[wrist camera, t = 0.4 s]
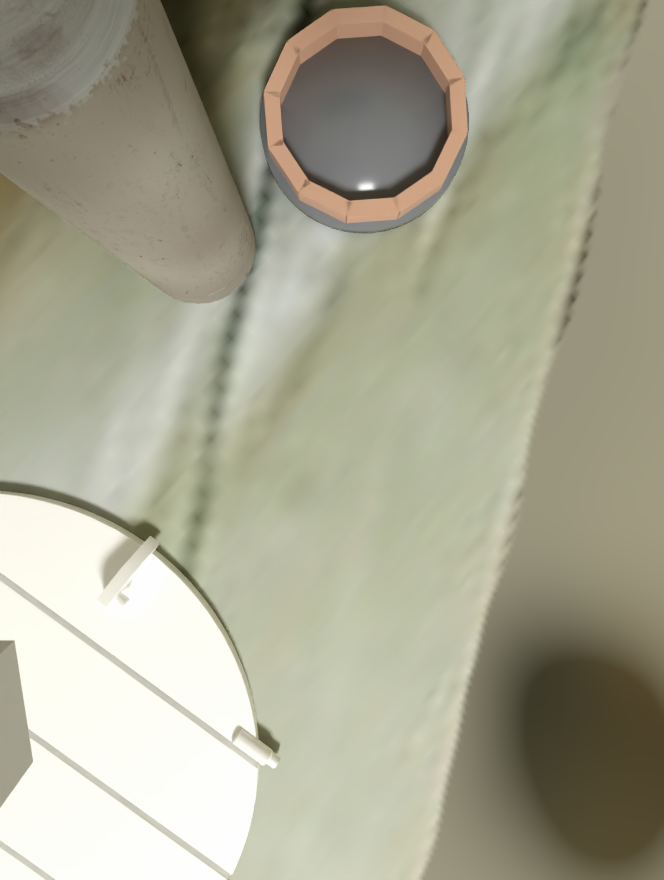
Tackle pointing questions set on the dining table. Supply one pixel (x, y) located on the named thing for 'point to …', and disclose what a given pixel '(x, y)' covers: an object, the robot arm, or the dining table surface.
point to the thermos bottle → (121, 141)
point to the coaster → (364, 119)
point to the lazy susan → (120, 707)
